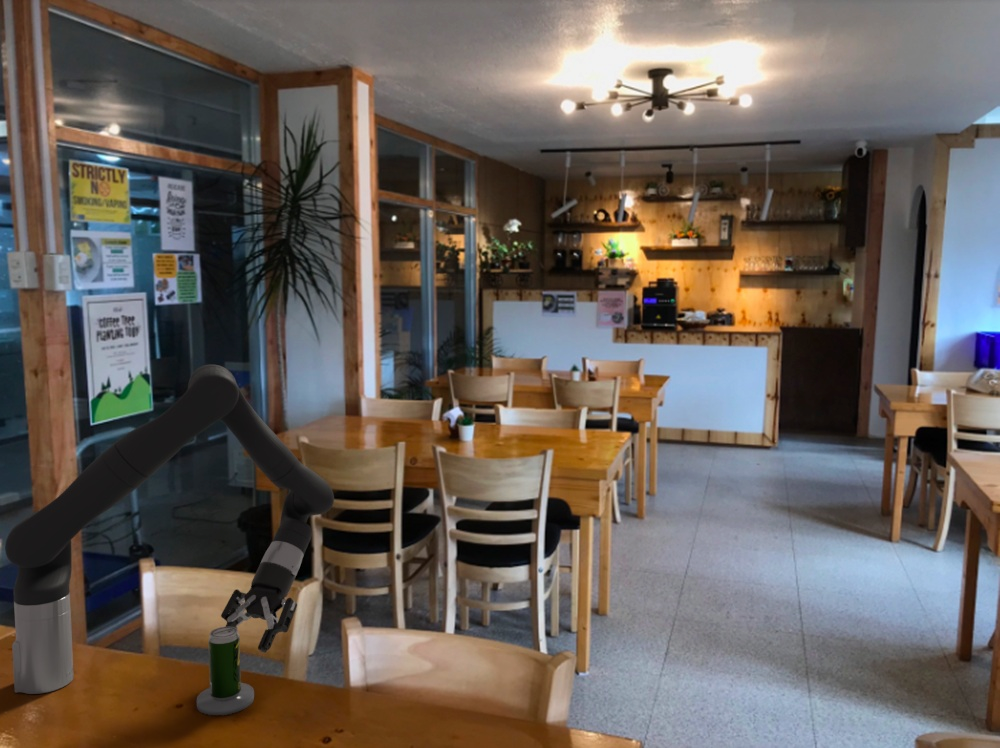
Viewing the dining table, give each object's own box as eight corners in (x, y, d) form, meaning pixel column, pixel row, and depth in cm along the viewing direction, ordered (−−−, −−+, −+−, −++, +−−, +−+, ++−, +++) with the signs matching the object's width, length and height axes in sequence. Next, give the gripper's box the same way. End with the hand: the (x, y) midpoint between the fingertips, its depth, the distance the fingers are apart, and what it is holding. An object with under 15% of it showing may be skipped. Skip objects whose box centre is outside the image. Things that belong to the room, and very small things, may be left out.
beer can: (214, 705, 141) (212, 640, 140) (207, 692, 145) (205, 630, 144) (244, 696, 144) (242, 633, 143) (236, 684, 148) (234, 623, 147)
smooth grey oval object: (193, 719, 138) (193, 712, 138) (199, 691, 148) (199, 685, 148) (252, 711, 141) (252, 705, 141) (255, 685, 151) (255, 679, 151)
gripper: (240, 556, 158) (202, 634, 148) (300, 564, 153) (264, 645, 143) (257, 573, 163) (222, 649, 153) (316, 582, 158) (283, 660, 149)
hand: (242, 647), depth 148 cm, fingers open, 8 cm apart
